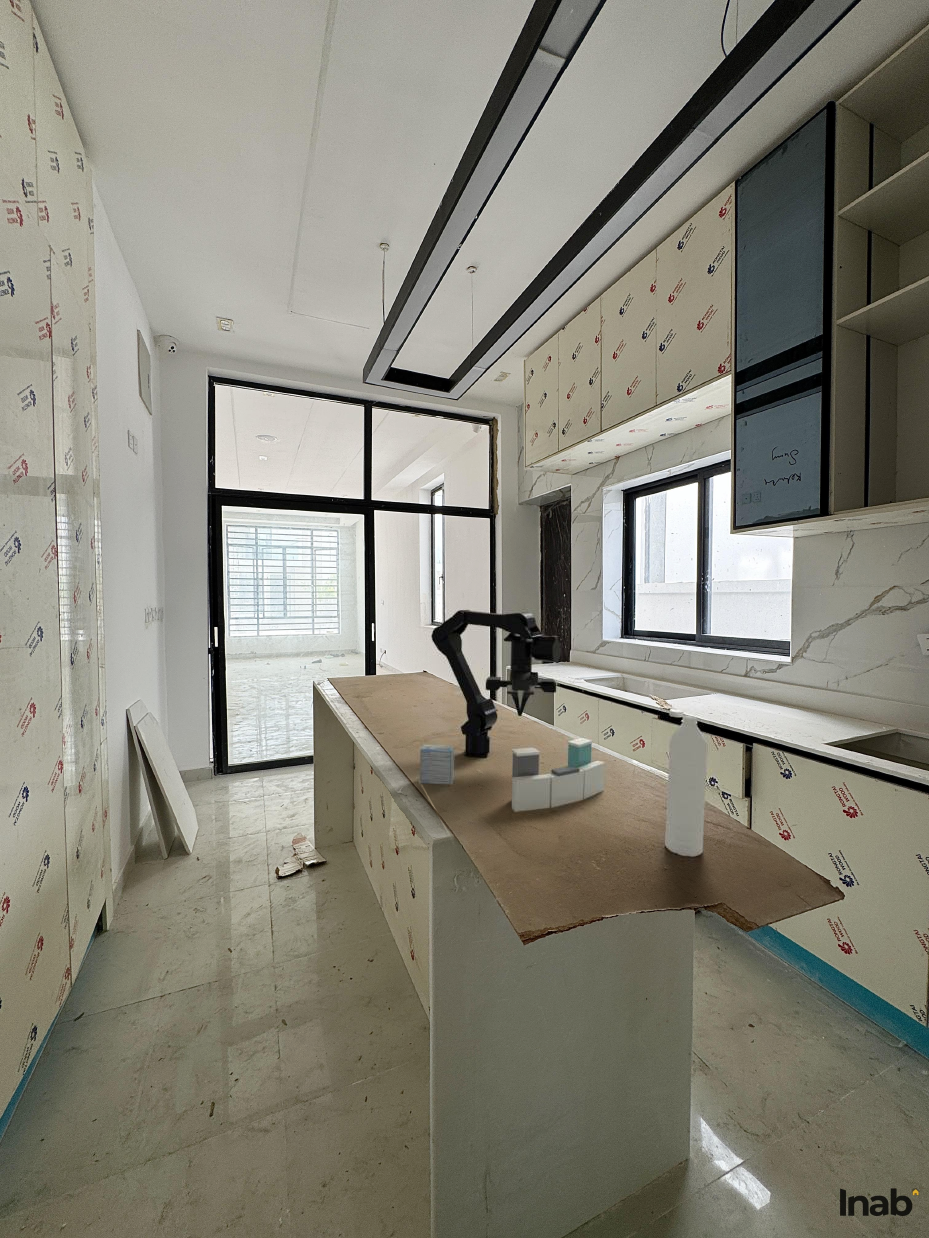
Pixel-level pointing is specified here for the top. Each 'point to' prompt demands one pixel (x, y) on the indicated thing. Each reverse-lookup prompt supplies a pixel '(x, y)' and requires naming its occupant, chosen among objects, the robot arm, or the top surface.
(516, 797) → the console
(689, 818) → the water bottle
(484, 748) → the robot arm
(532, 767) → the grey and white block
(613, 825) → the top surface
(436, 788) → the top surface
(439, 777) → the medicine box
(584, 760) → the teal and white block
